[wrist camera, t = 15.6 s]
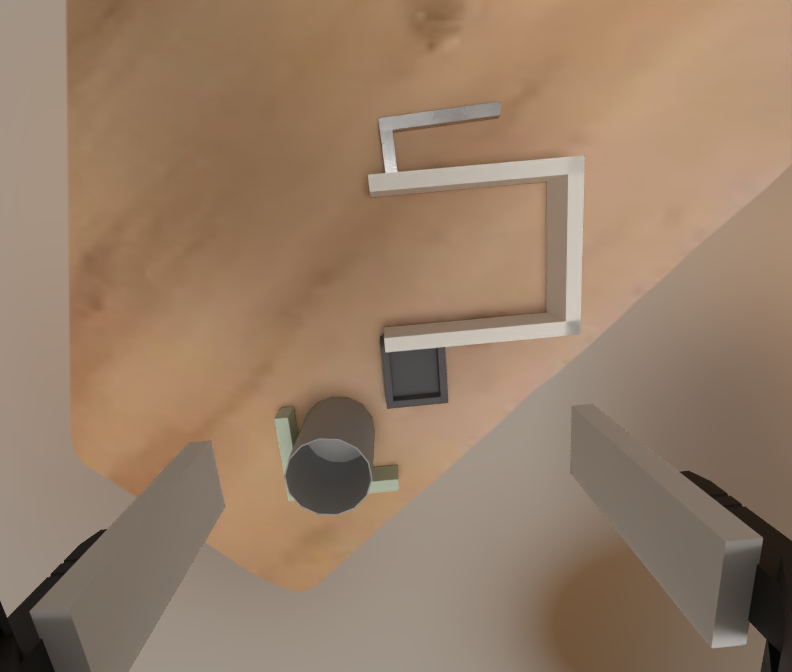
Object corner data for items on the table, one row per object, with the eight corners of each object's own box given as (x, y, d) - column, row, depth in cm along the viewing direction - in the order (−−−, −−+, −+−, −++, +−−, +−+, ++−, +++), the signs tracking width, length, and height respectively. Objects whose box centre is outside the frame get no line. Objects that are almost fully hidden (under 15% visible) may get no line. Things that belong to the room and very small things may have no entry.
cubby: (385, 340, 45) (385, 352, 40) (369, 182, 41) (367, 174, 36) (558, 324, 45) (580, 334, 40) (560, 165, 41) (584, 155, 36)
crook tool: (385, 176, 41) (385, 174, 40) (378, 121, 40) (378, 118, 39) (500, 160, 41) (503, 158, 40) (496, 105, 40) (500, 101, 39)
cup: (335, 382, 46) (323, 421, 36) (388, 425, 48) (389, 473, 38) (290, 432, 47) (266, 482, 38) (343, 472, 49) (333, 530, 39)
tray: (386, 401, 47) (387, 408, 45) (380, 336, 45) (380, 340, 43) (445, 396, 47) (448, 402, 45) (441, 330, 45) (444, 334, 43)
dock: (294, 485, 49) (288, 501, 46) (280, 407, 47) (274, 419, 44) (398, 475, 49) (399, 490, 46) (390, 397, 47) (391, 407, 44)
